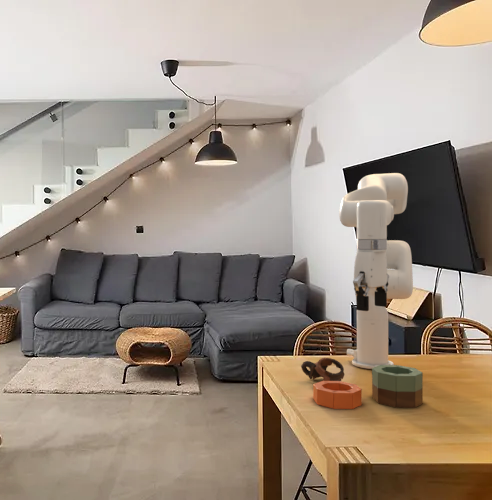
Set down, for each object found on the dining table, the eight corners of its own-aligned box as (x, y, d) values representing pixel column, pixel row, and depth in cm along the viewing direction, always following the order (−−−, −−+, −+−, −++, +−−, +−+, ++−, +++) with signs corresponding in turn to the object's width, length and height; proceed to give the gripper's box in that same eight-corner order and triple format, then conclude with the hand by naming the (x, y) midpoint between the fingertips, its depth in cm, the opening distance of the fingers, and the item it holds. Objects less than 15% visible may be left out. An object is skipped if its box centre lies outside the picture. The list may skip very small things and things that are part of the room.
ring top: (306, 401, 139) (306, 386, 139) (329, 393, 146) (329, 378, 146) (345, 411, 131) (345, 395, 130) (368, 402, 138) (367, 386, 138)
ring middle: (366, 385, 139) (365, 370, 139) (385, 377, 146) (385, 362, 146) (409, 394, 131) (409, 378, 131) (428, 385, 138) (428, 370, 138)
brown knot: (340, 380, 160) (347, 360, 155) (337, 402, 152) (345, 381, 148) (299, 367, 163) (306, 347, 159) (295, 388, 156) (301, 368, 151)
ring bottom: (366, 400, 139) (366, 385, 139) (385, 391, 146) (385, 377, 146) (409, 410, 131) (409, 394, 131) (428, 401, 138) (428, 385, 138)
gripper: (374, 244, 153) (374, 303, 154) (341, 247, 142) (342, 310, 143) (400, 244, 147) (400, 305, 148) (368, 247, 137) (368, 314, 137)
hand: (371, 308), depth 146 cm, fingers open, 9 cm apart
